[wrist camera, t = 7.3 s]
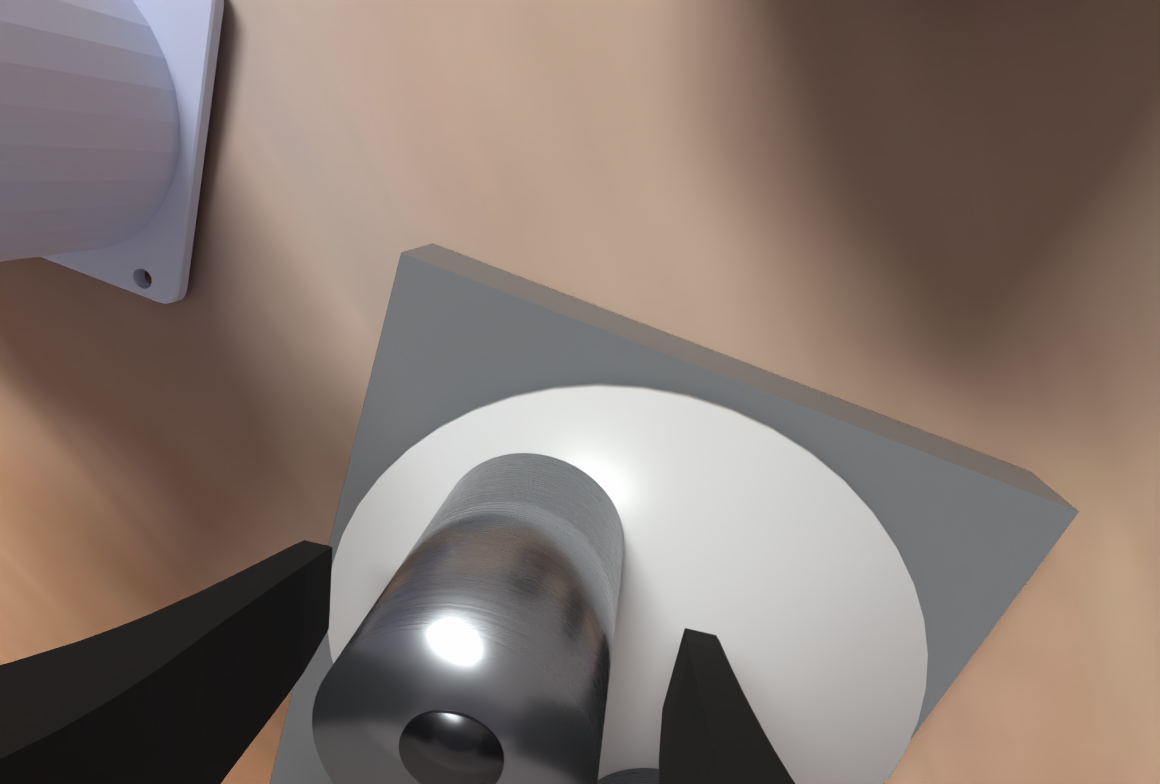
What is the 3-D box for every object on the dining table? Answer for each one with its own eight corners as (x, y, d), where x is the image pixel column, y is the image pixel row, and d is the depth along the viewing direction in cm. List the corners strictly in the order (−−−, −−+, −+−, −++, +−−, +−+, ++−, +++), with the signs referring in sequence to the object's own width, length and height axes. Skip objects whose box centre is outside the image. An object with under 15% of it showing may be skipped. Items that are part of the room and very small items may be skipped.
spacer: (429, 586, 16) (298, 814, 10) (458, 430, 15) (325, 596, 9) (598, 635, 16) (559, 895, 10) (646, 483, 14) (633, 686, 9)
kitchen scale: (291, 776, 23) (194, 930, 18) (432, 243, 16) (335, 271, 11) (708, 939, 23) (718, 1137, 18) (1030, 471, 16) (1181, 595, 11)
